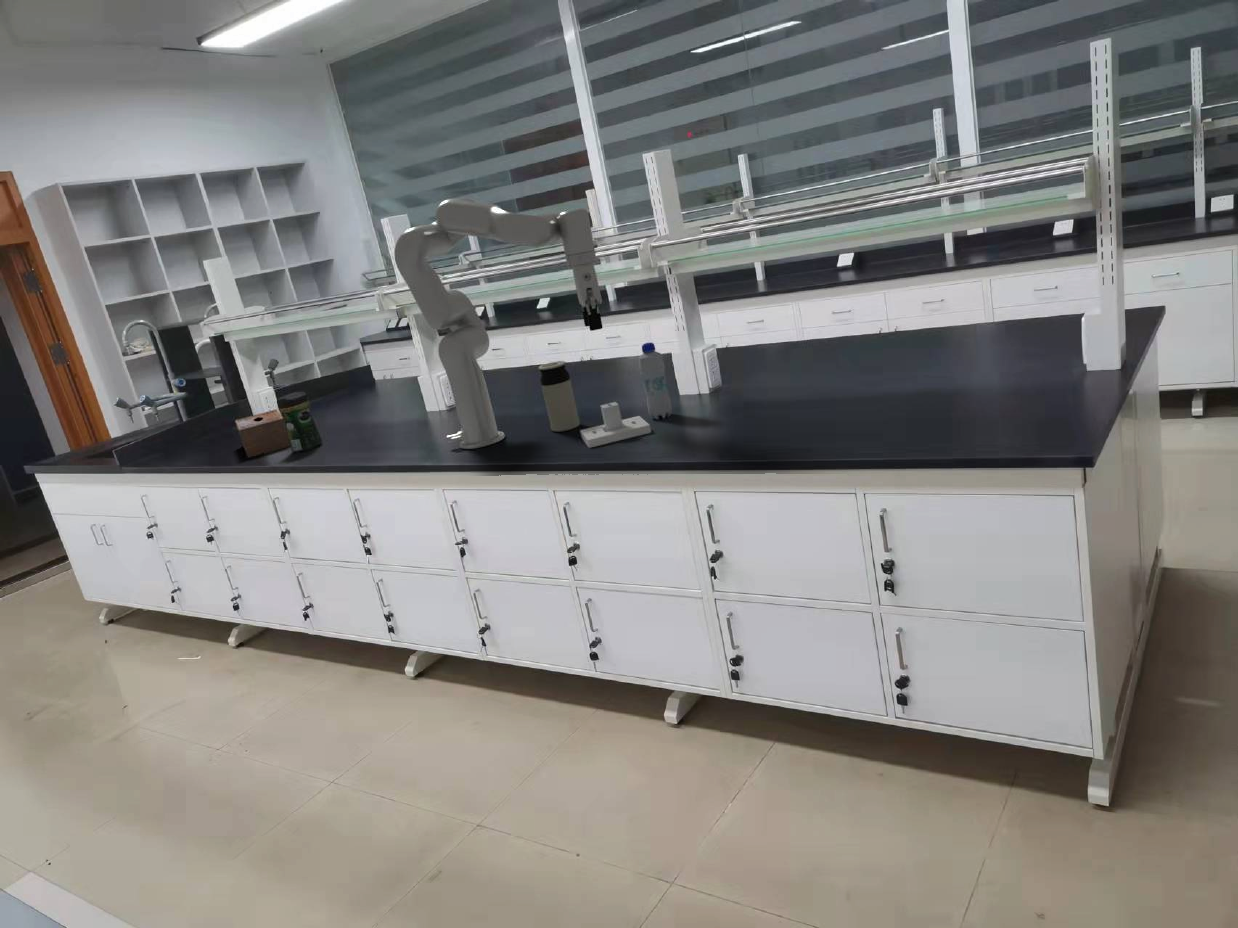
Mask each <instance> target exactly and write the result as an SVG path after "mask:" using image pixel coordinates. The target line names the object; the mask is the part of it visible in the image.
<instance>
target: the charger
mask: <svg viewBox="0 0 1238 928" xmlns="http://www.w3.org/2000/svg"><path fill="white" fill-rule="evenodd" d="M619 405H620V404H619V403H617V401H614V402H610V403H605V404H601V405H600V411H601V415H602V420H603V425H605V430H606V432H609V431H613V430H618V429H622V428H623V424H622V420H623V419H622V415H621V410H620V406H619Z"/></svg>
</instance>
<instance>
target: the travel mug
mask: <svg viewBox="0 0 1238 928" xmlns="http://www.w3.org/2000/svg"><path fill="white" fill-rule="evenodd" d="M537 369H538V370H539V371H540V377H539V381H540V385H541V389H542V393H543V397H544V403H545V407H546V412H547V416H548V419H549V424H550V428H551V431H552V432H556V433H560V432H568V431H571V430H574V429H576V428H577V427H579V426H580V425H581V423H580V418H579V413H578V408H577V405H576V400H575V396H574V395H575V394H574V391H573V386H572V381H571V377H570V376H571V375H570V373H569V371H568V370H567V369H566V361H565V360H557V361H552V362H547V363H545V364H541V365H540V366H538V368H537Z"/></svg>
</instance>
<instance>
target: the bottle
mask: <svg viewBox="0 0 1238 928" xmlns="http://www.w3.org/2000/svg"><path fill="white" fill-rule="evenodd" d="M641 351H642V354H641V355H640V356H638V368H639V369H638V370H639V371H640V372H639V373H640V376H641V377H642V378H641V379H642V381H643V382H642V383H643V387H644V388H643V389H644V392H645V393H644V394H645V398H646V404H647V412H648V414H649V417H650V418H651V419H652V420H659V419H660V417H659V416H661V418H662V419H666V417H668V418H669V417H670V416H671V415H672V411H673V408H672V407H673V406H672V402H671V397H670V394H669V389H668V384H667V378H666V374H665V372H666V366H665V362H664V360H663V355H662V353H661V352H658V351H656V346H655V344H654V343H653V342H646V343H643V344H642V345H641Z"/></svg>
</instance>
